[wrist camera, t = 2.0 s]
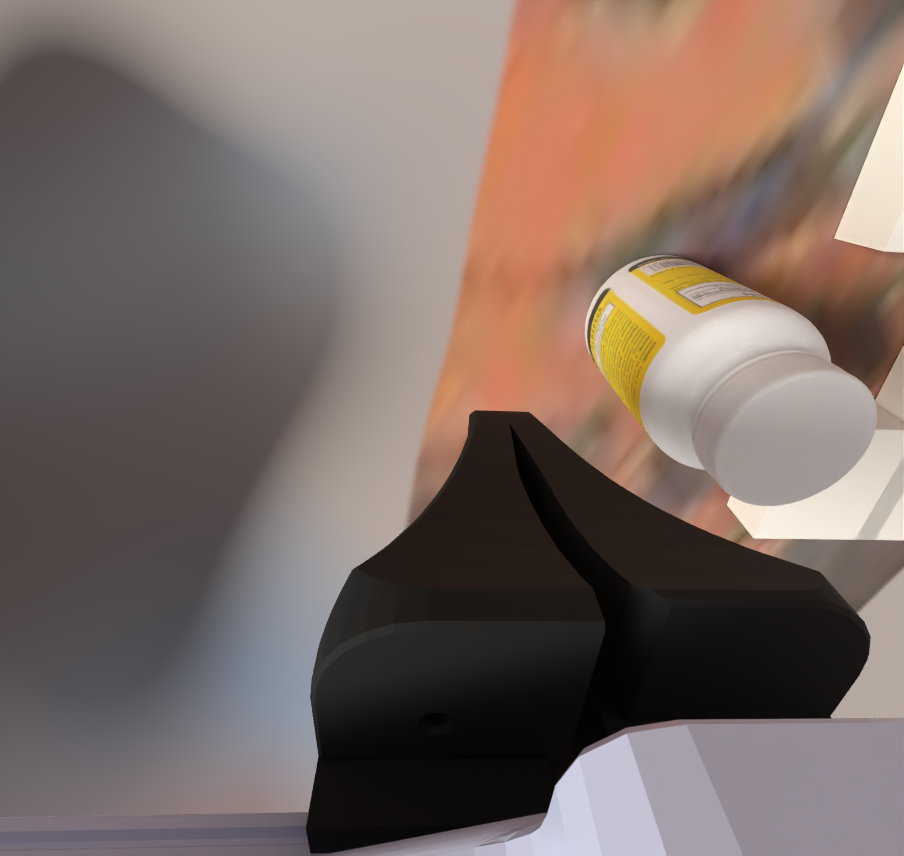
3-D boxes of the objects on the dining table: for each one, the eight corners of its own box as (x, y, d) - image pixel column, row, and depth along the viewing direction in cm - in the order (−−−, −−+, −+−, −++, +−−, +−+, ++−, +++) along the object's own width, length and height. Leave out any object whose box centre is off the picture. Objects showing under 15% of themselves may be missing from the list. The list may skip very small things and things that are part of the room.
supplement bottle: (625, 402, 23) (740, 559, 15) (556, 314, 21) (643, 439, 12) (736, 324, 21) (938, 450, 13) (673, 221, 19) (865, 290, 11)
